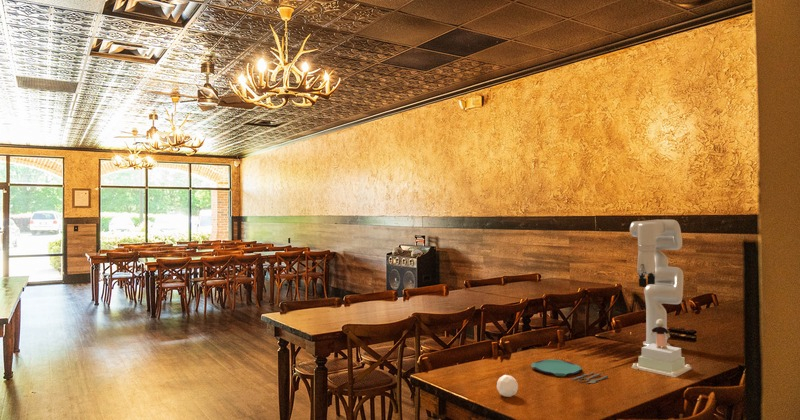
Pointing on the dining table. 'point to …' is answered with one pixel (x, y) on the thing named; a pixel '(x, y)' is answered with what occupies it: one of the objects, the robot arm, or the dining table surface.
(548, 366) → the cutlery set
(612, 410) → the dining table surface
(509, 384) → the geometric ball
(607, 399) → the dining table surface
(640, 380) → the dining table surface
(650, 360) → the white stepped pedestal
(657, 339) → the grandmother figurine
